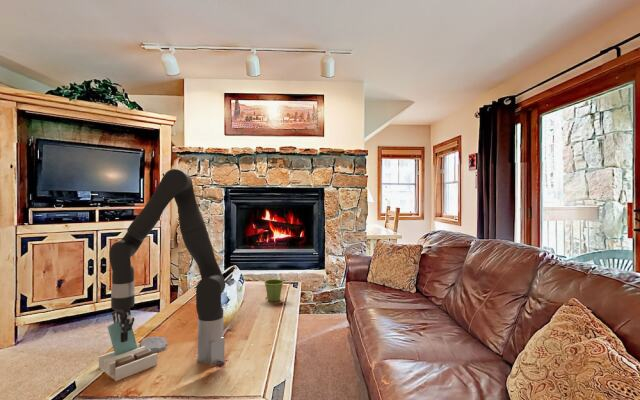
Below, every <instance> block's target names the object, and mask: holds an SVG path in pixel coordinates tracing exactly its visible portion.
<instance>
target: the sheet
mask: <svg viewBox="0 0 640 400" xmlns="http://www.w3.org/2000/svg"><path fill="white" fill-rule="evenodd" d="M124 323H125V322H124ZM123 328H124V326H123ZM107 331H108V333H109V337H110V341H111V345H112V348H113V351H114V353H115V356H117V355H120V354H123V353H125V352H128V351H131V350H134V349H137V341H136V338H135V337H136V336H135V333H134V328H132V329H131V330H130V331H128V340H127V341H126V342H123V343H122V342H121V326H119V321H118V322H116V323H114V322H113V323H111V324H109V325H108V326H107Z"/></svg>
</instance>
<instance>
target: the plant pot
mask: <svg viewBox="0 0 640 400" xmlns="http://www.w3.org/2000/svg"><path fill="white" fill-rule="evenodd" d="M284 283H285V282H284V280H283V279H282V280H281V279H276V278H274V279H272V278H271V279H267V280H264V283H263V284H264V286H265V290H266V291H265V292H266V297H267V301H268V302H275V303H276V302H278V301H280V300H281V295H282V294H281V293H282V289H283V285H284Z"/></svg>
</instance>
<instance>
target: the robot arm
mask: <svg viewBox="0 0 640 400" xmlns="http://www.w3.org/2000/svg"><path fill="white" fill-rule="evenodd" d="M196 199H197V198H196V195H195V191H194V185H193V180H192V177H191V176H190V174H189V173H187V172H186V171H184V170H182V169H178V168H172V169H169V170H167V171H166V172H165V173H164V175H163V177H162V178H161V179H160V182H159V183H158V185H157V187H156V189H155V191H154V192H153V194H152V196H151V197H150V198H149V200H148V201H147V203H146V204H145V206H144V207H143V208H142V210H140V212H139V213H138V215H137V216H136V217H135V218H134V219H133V220H132V221H131V223H130V224H129V226H128V227H127V229H126V233H125V235H123V237H122V238H121V239H120V240H118V241H116V242H114V243H112V245H111V246H110V248H109V251H108V252H109V254H108V257H109V263H110V267H111V268H110V269H111V271H112V273H111V288H110V289H111V291H110V293H111V294H110V295H111V296H110V301H111V302H110V308H111V309H112V310H114V311H112V312H111V315H112V316H111V317H112V321H113V323H116V322H118V321H119V326H121V342H122V343H123V342H126V341H127V340H128V331H130V330H131V329H133V325H134V322H135V316H132V314H131V313H132V312H131V308H133V307H134V306H135V299H136V298H135V295H136V294H135V292H136V290H135V286H136V285H135V268H134V267H133V266H132V263H131V262H132V261H131V260H132V259H131V257H132V256H134V255H135V254H136V252H137V251H138V250H139V248H140V247H141V245H142V244H143V242H144V240H145V239H146V238H147V237H148V236H149V234H150V233H151V231H152V230H153V229H154V228H155V226H156V225H157V223H158V222H159V220H160V218H161V216H162V215H163V212H164V211H165V209H166V208H167V206H168V205H169V204H170V203H171V202H172V200H174V202H175V203H176V207H177V212H178V223H179V225H178V226H179V231H180V234H181V237H182V240H183V244H184V246H185V248H186V249H187V251H188V254H190V256H191V257H192V258H193V260H194V261H195V263H196V265H197V267H198V270H199V273H200V280H199V281H198V283H197V285H196V289H195V292H196V293H195V300H196V301H195V304H196V306H195V308H196V312H197V362H199V363H200V364H202V365H203V364H204V365H210V366H211V365H213V366H212V367H210V369H212V368H215V367H217V366H219V365H221V364H223V363H225V356H226V355H225V353H226V352H225V350H226V349H225V343H226V340H225V337H224V308H223V307H222V294H223V292H224V291H225V288H226V281H225V278H224V275H223V273H222V271H221V269H220V265H219V264H218V262H217V260H216V256H215V252H214V248H213V246H212V242H211V238H210V235H209V231H208V229H207V227H206V224H205V220H204V217H203V215H202V212H201V210H200V208H199V205H198V203H197V200H196ZM124 322H125V323H124ZM123 326H124V328H123ZM219 362H220V363H219ZM215 363H218V364H215ZM214 364H215V365H214Z"/></svg>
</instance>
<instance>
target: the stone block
mask: <svg viewBox="0 0 640 400" xmlns="http://www.w3.org/2000/svg"><path fill="white" fill-rule="evenodd" d="M143 346H145V350H146V349H148V350H149V349H150V350H151V351H152V353H159V352H162V351H165V350H166V348H167V346H168V340H167V338H166V337H164V336H156V335H155V336H148V337H145V338H143V339H142V340H141V344H140V347H143Z"/></svg>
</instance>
